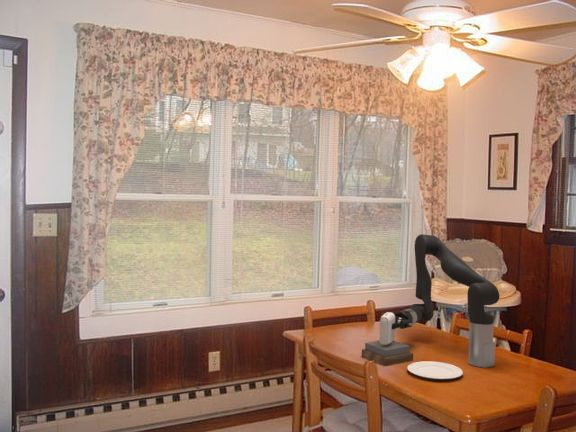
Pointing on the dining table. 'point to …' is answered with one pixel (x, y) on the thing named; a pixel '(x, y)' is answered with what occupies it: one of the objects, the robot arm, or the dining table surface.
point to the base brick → (387, 360)
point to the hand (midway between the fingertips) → (386, 325)
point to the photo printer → (387, 328)
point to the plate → (435, 370)
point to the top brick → (387, 348)
